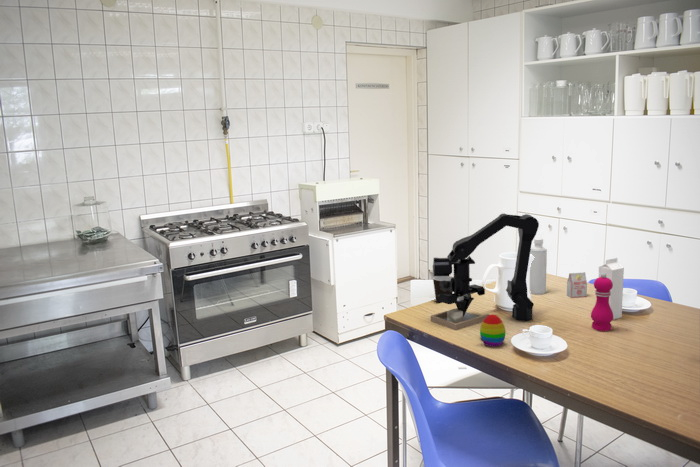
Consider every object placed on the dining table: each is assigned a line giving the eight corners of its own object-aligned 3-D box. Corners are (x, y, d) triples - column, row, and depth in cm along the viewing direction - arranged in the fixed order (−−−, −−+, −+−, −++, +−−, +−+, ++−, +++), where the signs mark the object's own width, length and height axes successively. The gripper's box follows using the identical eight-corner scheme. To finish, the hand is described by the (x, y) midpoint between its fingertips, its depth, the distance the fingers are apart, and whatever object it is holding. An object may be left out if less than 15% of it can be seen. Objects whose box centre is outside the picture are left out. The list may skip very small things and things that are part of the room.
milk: (596, 316, 214) (598, 258, 210) (608, 313, 216) (610, 256, 212) (610, 320, 208) (612, 261, 204) (622, 317, 211) (624, 259, 207)
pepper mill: (613, 326, 203) (615, 271, 199) (612, 332, 196) (615, 276, 193) (590, 323, 206) (592, 269, 202) (589, 330, 199) (591, 274, 196)
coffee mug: (448, 305, 233) (447, 282, 231) (429, 302, 238) (429, 279, 237) (461, 298, 242) (461, 275, 240) (442, 295, 247) (442, 273, 246)
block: (462, 321, 209) (462, 311, 208) (454, 324, 207) (454, 313, 206) (455, 319, 212) (454, 308, 212) (447, 321, 210) (447, 311, 209)
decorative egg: (510, 342, 191) (510, 314, 190) (496, 350, 186) (497, 320, 184) (488, 337, 197) (488, 309, 195) (475, 344, 192) (475, 315, 190)
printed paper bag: (566, 295, 240) (567, 272, 238) (582, 294, 241) (582, 271, 239) (571, 298, 237) (571, 274, 235) (586, 296, 237) (587, 273, 236)
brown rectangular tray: (489, 323, 211) (489, 314, 210) (456, 334, 201) (455, 324, 201) (463, 314, 221) (463, 306, 221) (430, 324, 212) (430, 315, 211)
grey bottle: (548, 291, 246) (549, 234, 242) (541, 295, 242) (542, 237, 237) (533, 289, 251) (534, 233, 246) (526, 292, 246) (527, 235, 242)
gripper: (463, 267, 220) (464, 306, 223) (427, 276, 210) (428, 316, 213) (485, 272, 211) (485, 312, 214) (448, 282, 201) (449, 324, 204)
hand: (462, 316), depth 211 cm, fingers closed
